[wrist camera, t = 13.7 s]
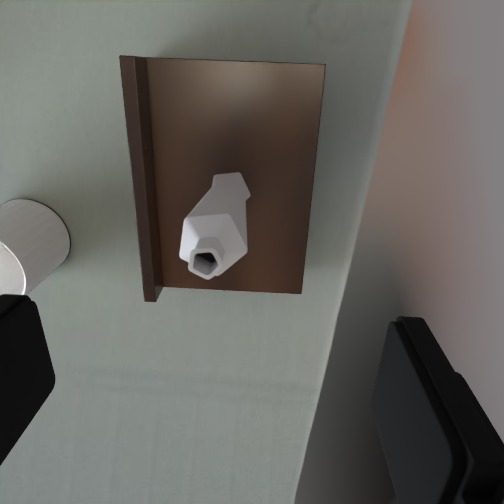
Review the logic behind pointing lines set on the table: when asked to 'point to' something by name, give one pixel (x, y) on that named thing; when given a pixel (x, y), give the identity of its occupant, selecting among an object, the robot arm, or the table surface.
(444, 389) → the robot arm
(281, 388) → the table surface
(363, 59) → the table surface
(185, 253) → the perfume bottle
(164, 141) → the wooden display stand
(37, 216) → the mug
